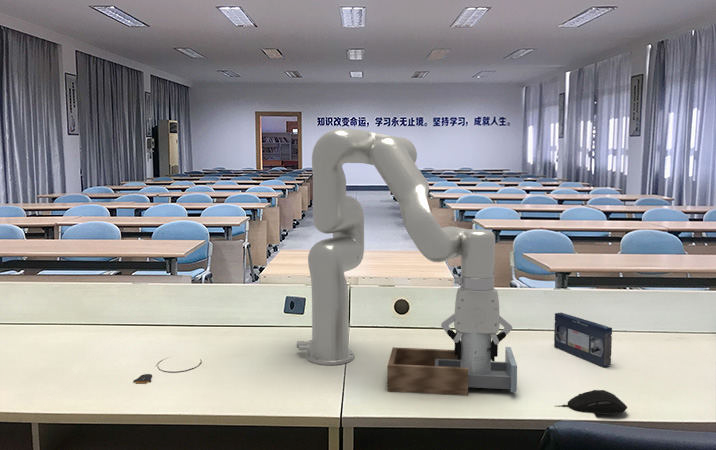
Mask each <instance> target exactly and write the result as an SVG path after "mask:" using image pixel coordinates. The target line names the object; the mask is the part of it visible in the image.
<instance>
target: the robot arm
mask: <svg viewBox="0 0 716 450" xmlns="http://www.w3.org/2000/svg"><path fill="white" fill-rule="evenodd" d="M417 157H418V153H417V149H416V147H415V145H414V144H413V142H412V141H410V139H407V138H405V137H402V136H393V135H389V134H383V133H380V132H379V133H378V132H373V131H370V130H361V129H360V130H359V129H353V128H337V129H332V130H330V131H329V130H328V131H327V132H325V133H324V134H323V135H321V137H319V138H318V140H317V141H316V142H315V145H314V147H313V149H312V154H311V166H312V167H311V168H312V219H313V225H314V226H315V228H316V230H317V231H318V232H321V233H323V234H332V237H330V238H324V239H321V240H319V241H317V242H316V243H315V244H314V245H313V246H312V247H311V248H310V250H309V253H308V256H307V265H308V271H309V276H310V282H311V333H312V334H311V340H308V341H303V340H297V341H296V345H295V346H296V348H297V349H298V350H299V351H307V353H306V359H307V361H308V362H310V363H312V364H316V365H322V366H337V365H343V364H348V363H349V362H352V361H353V360H354V359H355V352H354V351H353V350H352V349H350V348H349V289H348V288H349V287H348V283H347V280H346V276H345V272H348V271H351V270H353V269H356V268H357V267H359V265H361V263H362V261H363V259H364V253H365V214H364V209H363V207H362V205H361V203H360V202H359V201H358V199H356V198H355V197H353V196H351V195H347V179H346V174H345V171H344V168H343V165H344V164H366V165H370V166H374V167H375V169H376V171H377V172H378V174H379V175H380V176H381V178H382V180H383V181H384V183H385V185H387V187H388V189H389V191H390V192H391V194H392V195H393V197H394V199H395V200H396V201H397V204H398V205H399V211H400V214H401V218H402V222H403V225H404V228H405V229H406V232H407V235H409V238H410V239H411V240H412V242H413V243H414V245H415V246H416V248H417V249H418V251H419V252H420V253H421V255H422V256H423V257H424V258H426V259H427V260H428V261H430V262H432V263H442V262H445V261H449V260H452V259H456V258H460V264H461V265H460V276H459V277H454V284H455V285H459V286H460V287H458V288H457V291H456V295H455V301H454V303H455V304H454V313H453V314H452V315H450V316H449V317H448V318H446V319H444V320H443V321H442V322H441V325H440V327H441V328H442V329H443V331H444V332H445V333H446V334H447V336H448V337H450V339H452V341H453V342H454V350H455V351H454V354H455V355H457V358H458V360H460V359H461V336H462V335H463V333H464V334H470V333H471V326H472V324H476V328H475V333H476V334H490V336H491V361H495V358H498V354H499V353H498V352H499V351H498V349H499V344H500V342H502V340H503V339H505V338H506V337H507V335H509V333H510V332H511V331H512V330H513V326H512V325H511V324H510V323H509V322H508V321H507V320H506V319H505V318H503V317H502V316H501V314H500V299H499V294H498V292H499V291H498V290H497V289H496V288H495V262H496V261H495V257H496V255H495V254H496V235H495V233H494V232H493V231H492V230H489V229H482V228H472V229H468V228H463V227H459V226H458V227H457V226H451V225H450V226H445V227H441V224H440V223H439V222H438V221H437V219H436V217H435V216H434V215H433V212H432V211H431V209H430V206H429V200H428V195H429V191H430V184H429V182H428V180H427V179H426V178H425V176H424V175H423V173H422V172H421V170H420V168H419V167H418V166H417V164H416V162H417V159H418V158H417ZM452 323H454V324H453V327H454V329H455V331H454V330H452V328H451V327H450V325H451V324H452ZM500 325H501V326H502V327H503V329H502V330H501V331H500Z"/></svg>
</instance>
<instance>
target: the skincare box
mask: <svg viewBox="0 0 716 450" xmlns="http://www.w3.org/2000/svg"><path fill="white" fill-rule="evenodd" d="M475 328H476V324H472V326H471V333H470V334H464V333H463V335H462V336H461V338H460V340H461V361H460V367H466V368H468V374H484V373H489V372H490V371H491V342H492V338H491V336H490V334H476V333H475Z"/></svg>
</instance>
